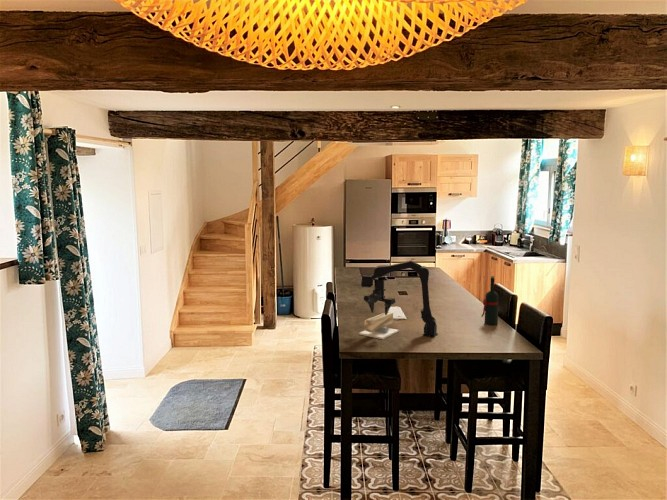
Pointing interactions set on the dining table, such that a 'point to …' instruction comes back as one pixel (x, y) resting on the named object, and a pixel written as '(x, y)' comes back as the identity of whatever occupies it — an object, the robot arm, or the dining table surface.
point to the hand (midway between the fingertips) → (379, 313)
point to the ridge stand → (380, 333)
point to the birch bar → (378, 321)
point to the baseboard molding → (397, 313)
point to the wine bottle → (491, 305)
